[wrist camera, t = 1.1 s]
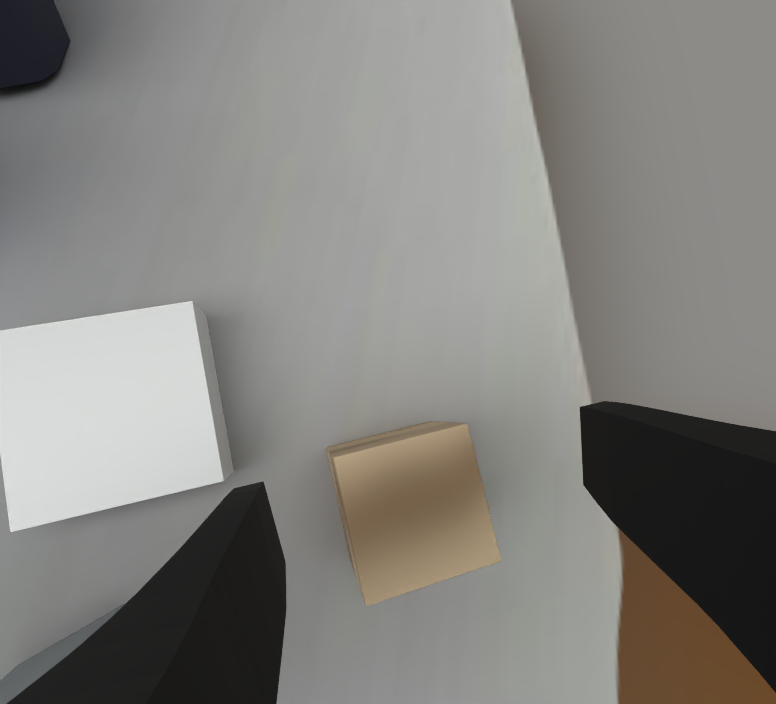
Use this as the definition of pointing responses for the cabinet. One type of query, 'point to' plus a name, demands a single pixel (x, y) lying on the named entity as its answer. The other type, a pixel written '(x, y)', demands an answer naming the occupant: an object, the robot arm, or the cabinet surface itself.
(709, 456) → the robot arm
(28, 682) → the slate block
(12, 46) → the speaker
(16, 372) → the white base block
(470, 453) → the oak block
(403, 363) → the cabinet surface
